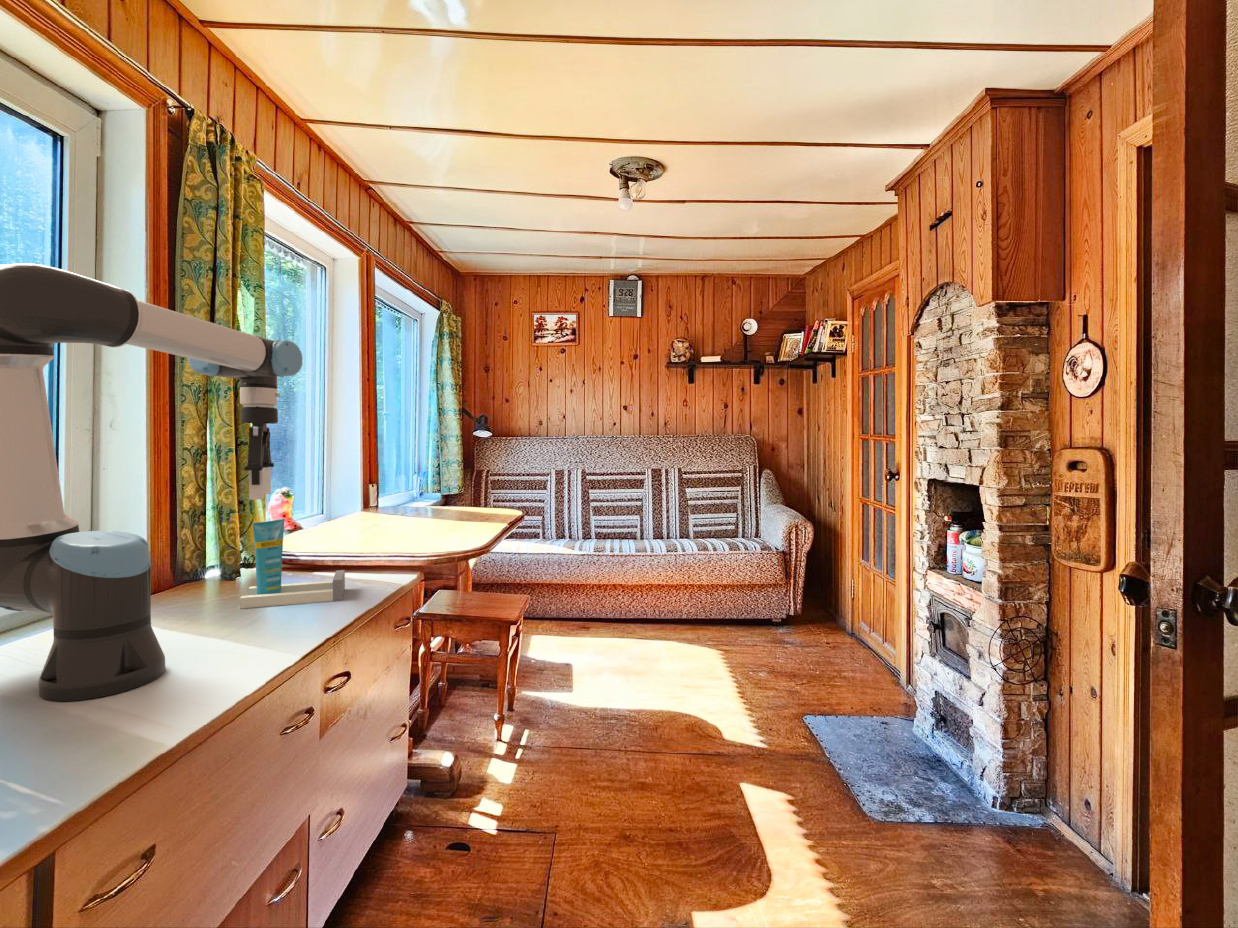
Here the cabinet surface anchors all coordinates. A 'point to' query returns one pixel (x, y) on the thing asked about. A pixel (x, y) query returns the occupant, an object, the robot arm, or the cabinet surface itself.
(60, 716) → the cabinet surface
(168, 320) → the robot arm
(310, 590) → the track
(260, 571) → the tube
